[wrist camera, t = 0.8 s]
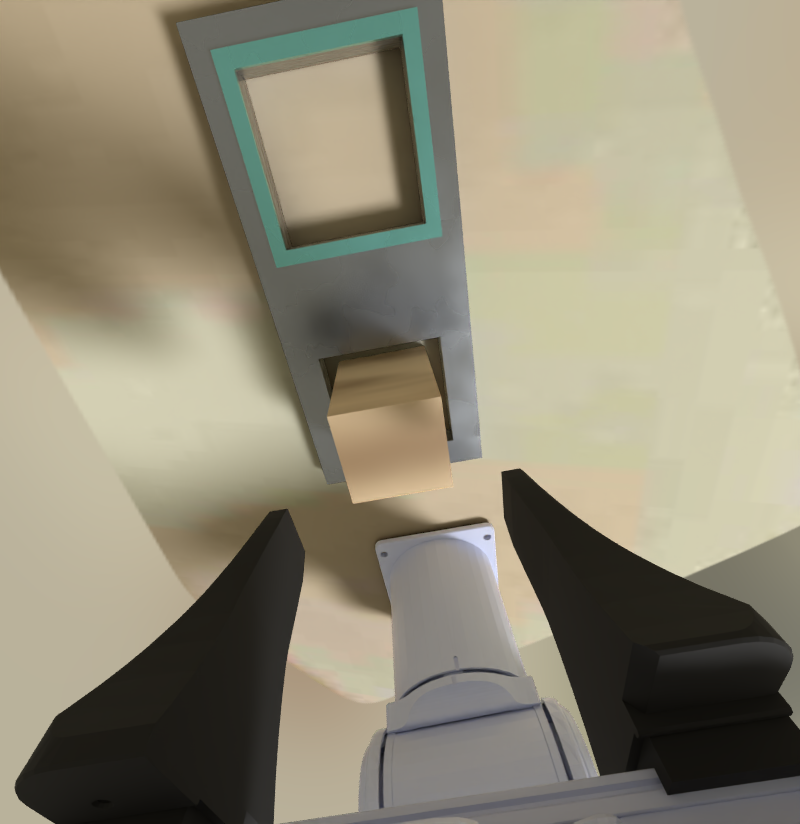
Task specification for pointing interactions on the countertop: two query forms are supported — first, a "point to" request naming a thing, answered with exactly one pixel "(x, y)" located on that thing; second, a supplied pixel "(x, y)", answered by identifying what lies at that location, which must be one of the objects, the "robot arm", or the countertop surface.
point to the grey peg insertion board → (359, 254)
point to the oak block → (389, 425)
